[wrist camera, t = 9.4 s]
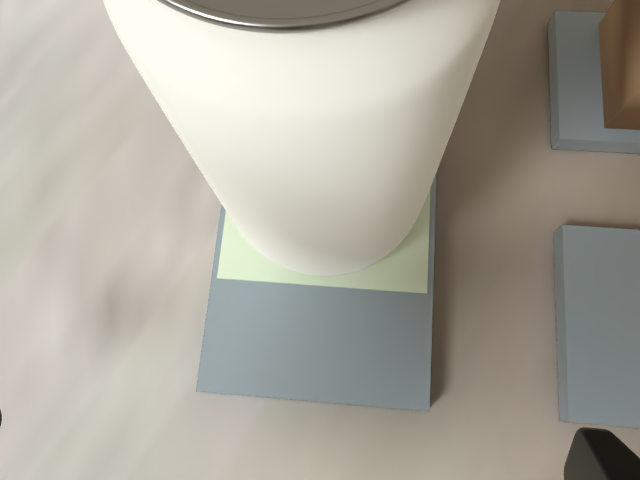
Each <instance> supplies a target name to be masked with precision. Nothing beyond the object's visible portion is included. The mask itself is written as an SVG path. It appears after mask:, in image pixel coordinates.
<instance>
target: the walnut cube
mask: <svg viewBox="0 0 640 480" xmlns="http://www.w3.org/2000/svg"><path fill="white" fill-rule="evenodd" d="M599 42H600V60H601V78H602V96H603V114H604V128H609V129H627V130H640V0H615V1H614V2H613V4H612V5H611V7H610V8H609V10H608V11H607V13H606V14H605V16H604V17H603V19H602V20H601V22H600V23H599Z"/></svg>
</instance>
